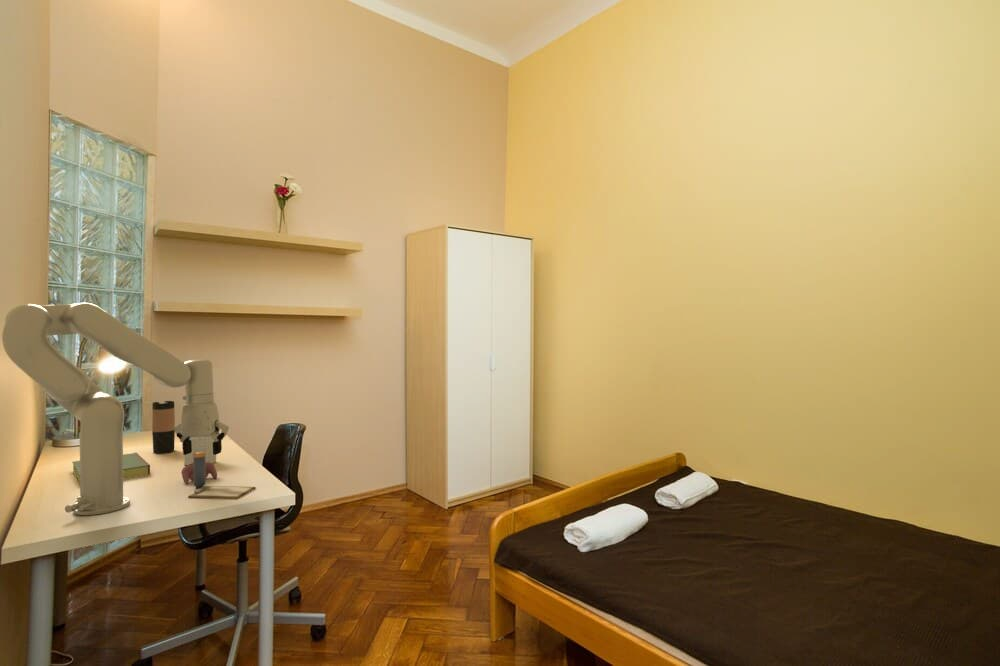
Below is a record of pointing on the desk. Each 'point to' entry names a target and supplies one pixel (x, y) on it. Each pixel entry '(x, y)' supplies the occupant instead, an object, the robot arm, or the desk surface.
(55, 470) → the desk surface
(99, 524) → the desk surface
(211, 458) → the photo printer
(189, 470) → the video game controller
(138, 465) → the hardcover book
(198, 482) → the marker
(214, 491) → the clipboard
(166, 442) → the travel mug
